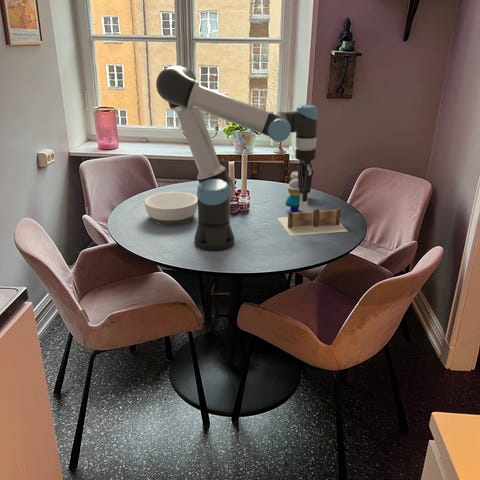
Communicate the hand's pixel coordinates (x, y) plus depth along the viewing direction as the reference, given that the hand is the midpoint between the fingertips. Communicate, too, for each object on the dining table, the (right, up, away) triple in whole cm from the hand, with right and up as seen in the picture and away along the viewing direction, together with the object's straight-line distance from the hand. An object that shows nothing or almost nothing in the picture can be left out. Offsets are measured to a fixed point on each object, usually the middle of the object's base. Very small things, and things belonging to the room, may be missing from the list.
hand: (303, 208), depth 189 cm
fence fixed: (+11, -6, +10) cm, 16 cm away
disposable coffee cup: (+4, +8, +45) cm, 46 cm away
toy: (0, 0, +26) cm, 26 cm away
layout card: (+5, -6, +11) cm, 14 cm away
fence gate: (0, -7, +8) cm, 10 cm away
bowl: (-54, -3, +19) cm, 57 cm away
